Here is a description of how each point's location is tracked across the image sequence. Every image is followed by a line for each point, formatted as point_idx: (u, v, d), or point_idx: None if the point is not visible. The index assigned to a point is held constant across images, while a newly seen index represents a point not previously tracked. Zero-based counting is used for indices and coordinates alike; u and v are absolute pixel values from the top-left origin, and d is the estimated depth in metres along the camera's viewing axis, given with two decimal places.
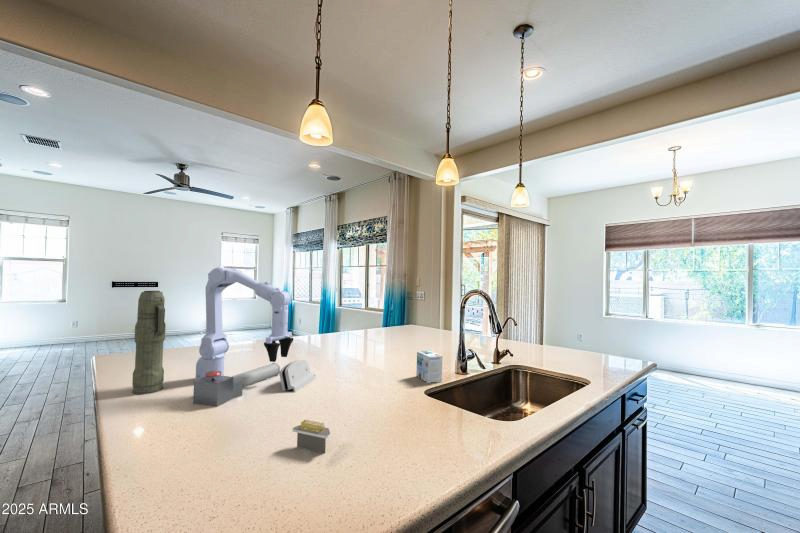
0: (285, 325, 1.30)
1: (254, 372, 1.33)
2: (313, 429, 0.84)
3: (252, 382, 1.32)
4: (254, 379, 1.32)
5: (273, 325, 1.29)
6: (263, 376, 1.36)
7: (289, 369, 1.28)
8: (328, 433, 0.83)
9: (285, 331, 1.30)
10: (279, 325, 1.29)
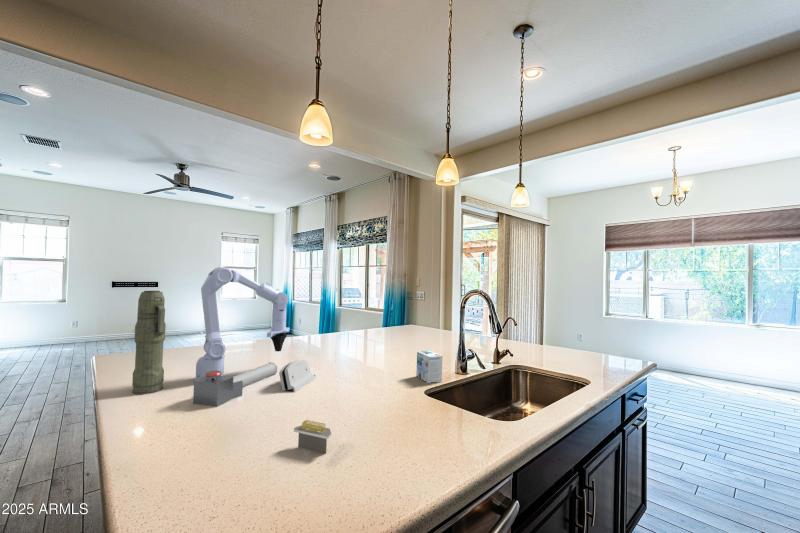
0: (284, 321, 1.50)
1: (253, 372, 1.34)
2: (314, 429, 0.84)
3: (252, 382, 1.32)
4: (254, 379, 1.32)
5: (273, 321, 1.49)
6: (262, 376, 1.37)
7: (289, 369, 1.28)
8: (329, 433, 0.83)
9: (284, 326, 1.50)
10: (278, 321, 1.49)
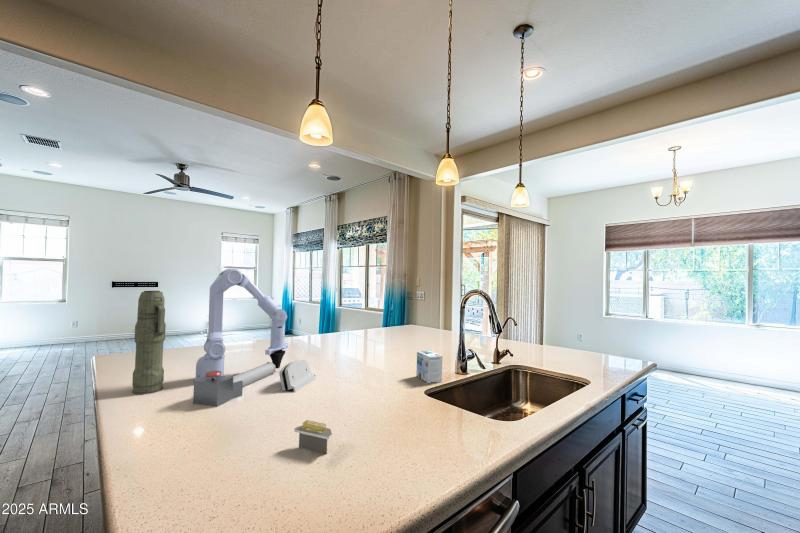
0: (282, 338, 1.49)
1: (253, 372, 1.34)
2: (315, 430, 0.84)
3: (251, 382, 1.32)
4: (253, 378, 1.33)
5: (272, 338, 1.48)
6: (261, 375, 1.37)
7: (289, 369, 1.28)
8: (330, 434, 0.83)
9: (282, 343, 1.49)
10: (277, 338, 1.48)
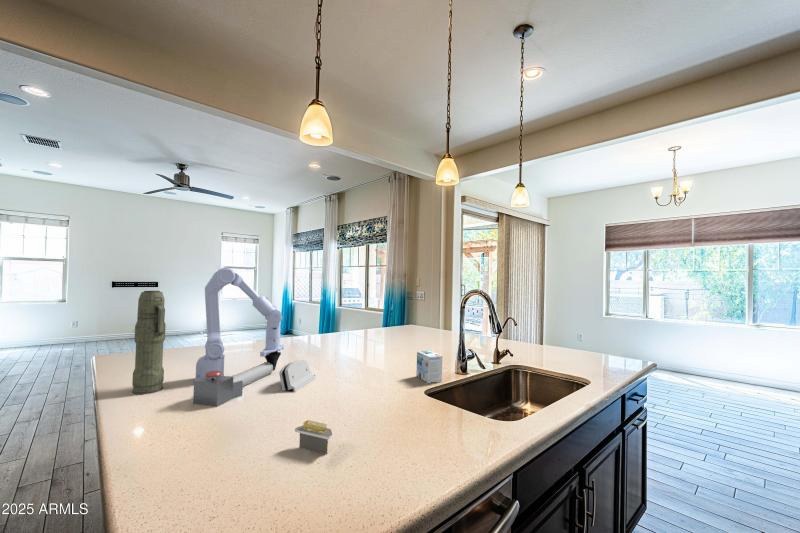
0: (278, 340, 1.46)
1: (251, 372, 1.33)
2: (315, 430, 0.84)
3: (250, 382, 1.31)
4: (252, 378, 1.32)
5: (267, 340, 1.45)
6: (259, 375, 1.36)
7: (289, 369, 1.28)
8: (330, 434, 0.83)
9: (278, 345, 1.46)
10: (272, 340, 1.44)
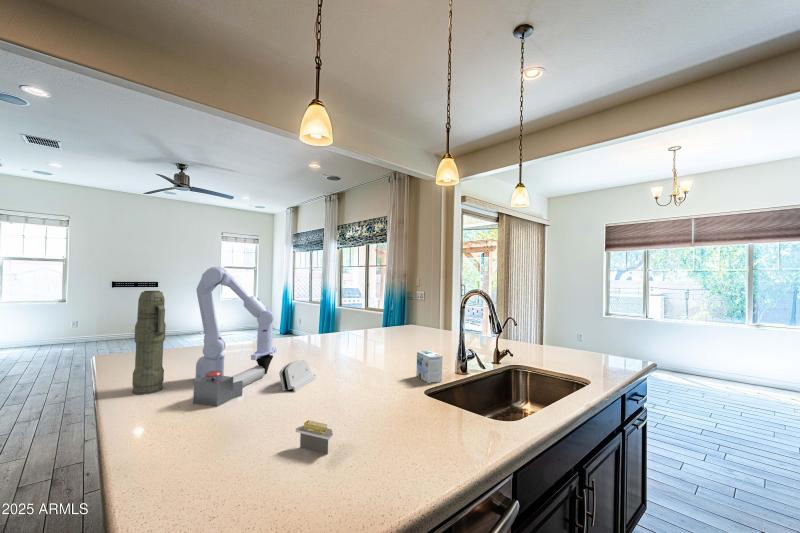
0: (269, 342, 1.40)
1: (241, 376, 1.27)
2: (316, 430, 0.84)
3: None
4: None
5: (258, 342, 1.39)
6: (250, 380, 1.30)
7: (289, 369, 1.28)
8: (331, 434, 0.83)
9: (269, 348, 1.40)
10: (264, 342, 1.39)
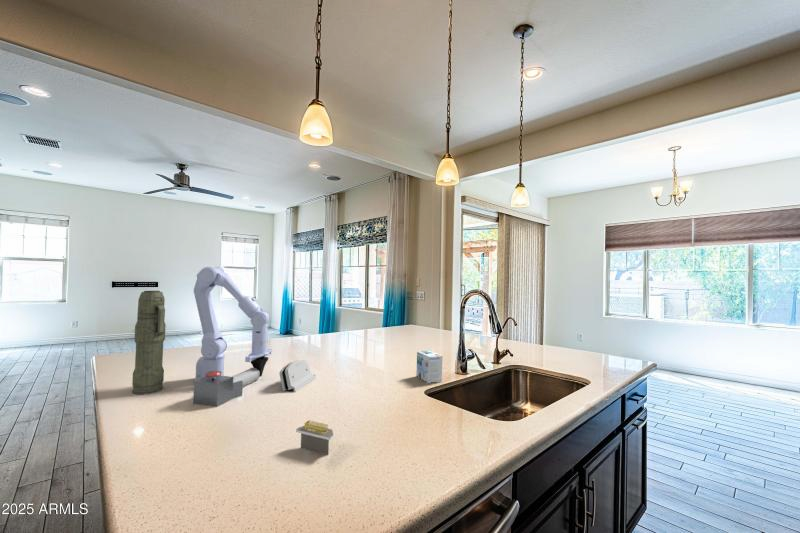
0: (264, 344, 1.37)
1: (235, 379, 1.24)
2: (316, 430, 0.84)
3: None
4: None
5: (253, 344, 1.36)
6: (244, 382, 1.27)
7: (289, 369, 1.28)
8: (331, 434, 0.83)
9: (265, 349, 1.37)
10: (259, 344, 1.35)
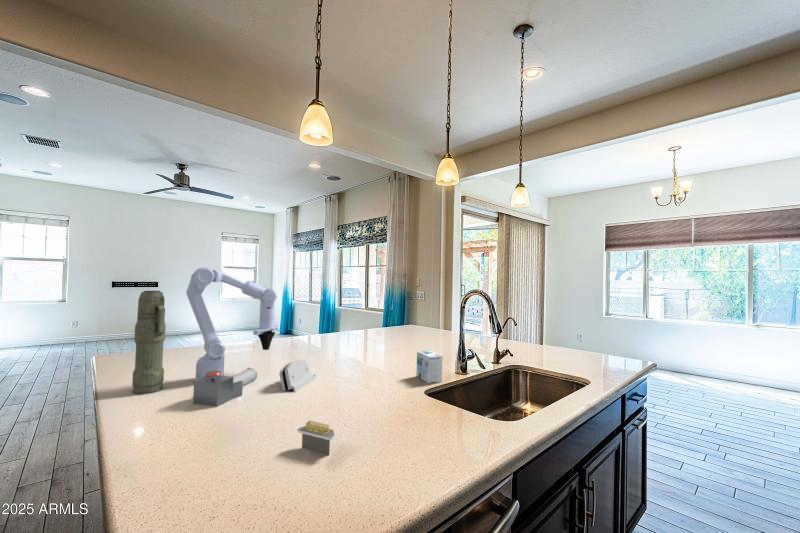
0: (271, 319, 1.46)
1: (234, 379, 1.24)
2: (317, 430, 0.84)
3: None
4: None
5: (260, 319, 1.45)
6: (243, 383, 1.27)
7: (289, 369, 1.28)
8: (332, 435, 0.83)
9: (271, 324, 1.46)
10: (266, 319, 1.44)
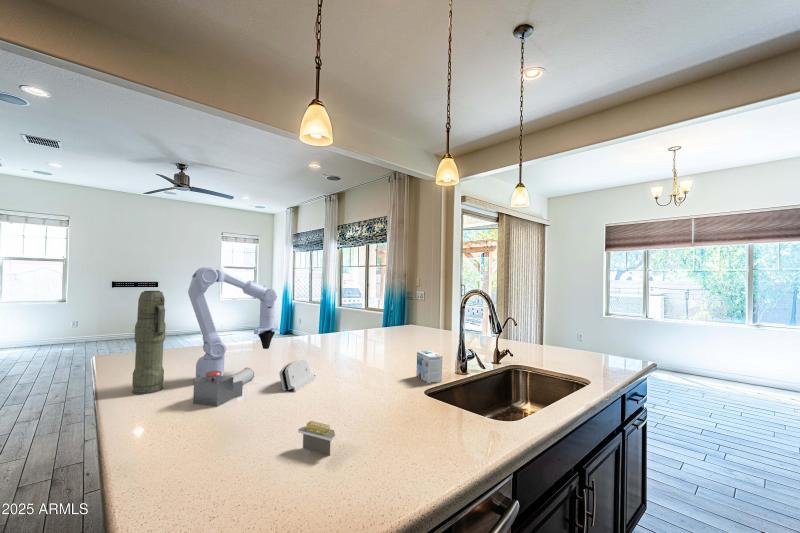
0: (271, 318, 1.48)
1: (233, 379, 1.24)
2: (318, 431, 0.84)
3: None
4: None
5: (261, 318, 1.47)
6: None
7: (289, 369, 1.28)
8: (333, 435, 0.82)
9: (271, 324, 1.48)
10: (266, 318, 1.46)
